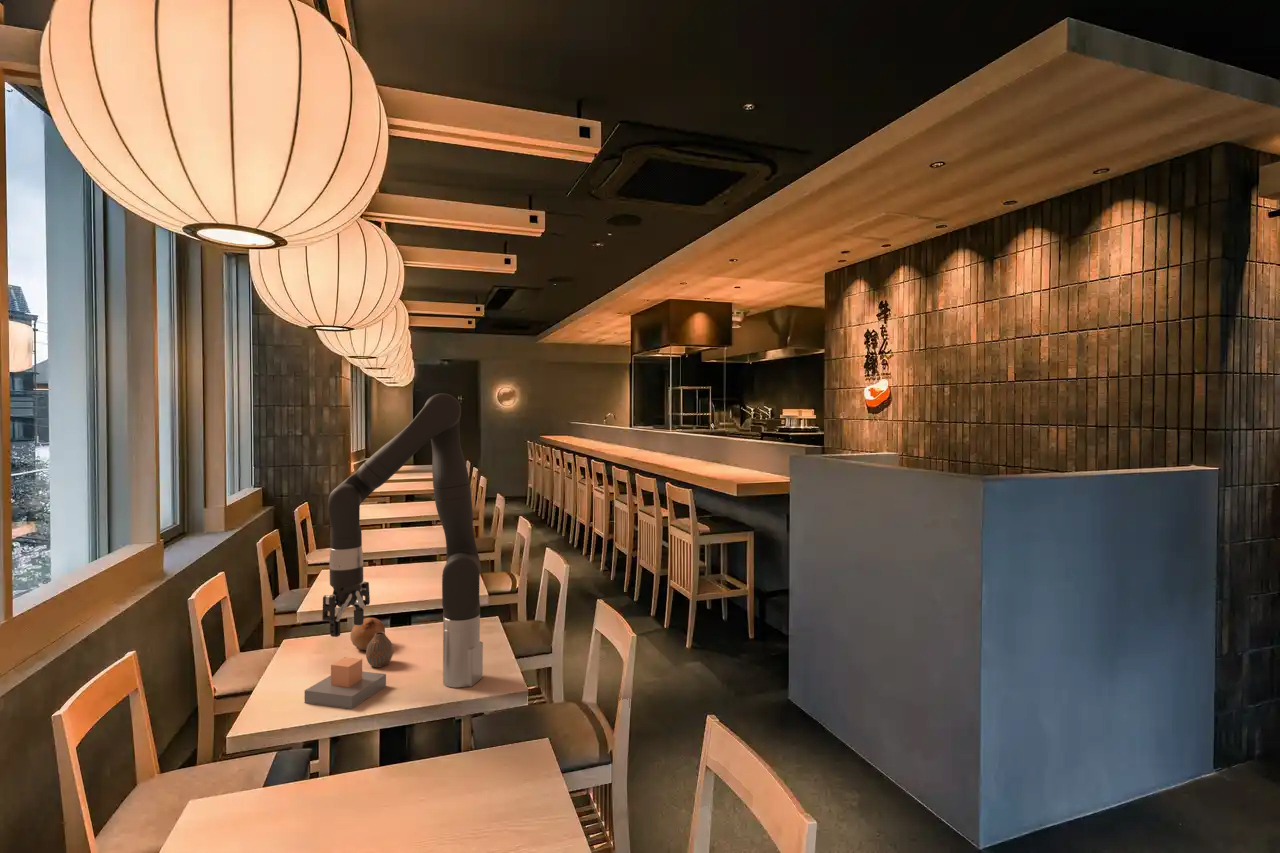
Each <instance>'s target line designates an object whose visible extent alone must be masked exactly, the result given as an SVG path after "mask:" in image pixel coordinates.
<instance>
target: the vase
mask: <svg viewBox="0 0 1280 853" xmlns="http://www.w3.org/2000/svg"><path fill="white" fill-rule="evenodd" d="M393 654H394V647H393V643H392V640H390V639H389V637H388V636H387V635H386V632H385V633H384V632H377V633H375V635H374V637H373V639H372V640H371V641H370V643H369V644H368V646H367V650H365V657H366V661H367V663H368V665H370V666H371V667H373V668H382V667H385V666H387V665H388V664H389V663H390V662H391V661H392V658H393Z"/></svg>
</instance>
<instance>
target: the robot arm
mask: <svg viewBox="0 0 1280 853" xmlns="http://www.w3.org/2000/svg"><path fill="white" fill-rule="evenodd" d="M461 415H462V408H461V404H460V402H459V401H458V399H457V398H456V397H454V396H453V395H451V394H448V393H444V392H443V393H436V394H434V395H432V396H430V397H429V398H428V399H427V400H426V402H425V404H424V406H423V407H422V408H421V410H420V411H419V412H418V413H417V415H416V416H415V417H414V418H413V419H412V420H411V421H410V422H409V424H407V425H406V426H405V427H404V429H402V430H401V431H400V432H398V434H396V435H395V436H393V438H392V439H390V440H389V441H388V442H386V443H385V444H384V445H382V446H381V447H380V448H379V449H378V450H377V451H375V452H374V453H373V454H372V455H371V456H370V457H368V458H367V459H366V460H365V461H364V462H363V463H362V464H361V465H360V466H359V468H358V469H357V470H356V471H355V472H354V473H352V474H351V475H349V476H348V477H347V478H346V479H345V480H343V482H341V483H340V484H339V485H337V486H336V487H334V489H333V490H332V491H331V492H330V494H328V495H329V496H328V500H327V501H328V503H327V506H328V507H327V508H328V517H329V518H328V519H329V524H330V536H329V537H330V538H329V539H330V546H329V547H330V551H329V557H328V558H329V585H330V587H332V589H333V591H332V594H329V595H328V594H326V595H323V597H322V616H321V617H322V621H323V622H329V635H330V636H331V637H333V638H334V637H335V638H338V637H340V636H341V618H342V615H343V614H344V613H345V612H346V609H347V608H349V607H350V606H352V607H353V609H354V610H353V624H354V625H362V624H363V620H364V618H365V617H364V616H365V613H364V610H365V609H366V607H367V606H369V605H370V603H371V599H370V597H371V596H370V583H369V581H364V554H363V553H364V552H363V542H362V541H363V539H362V537H363V536H362V534H363V533H362V527H361V524H360V519H361V518H360V516H361V515H360V514H361V513H360V511H361V508H360V506H361V504H362V503H364V501H365V500H366V499H367V498H368V497H369V496H370V495H371V494H372V493H374V491H375V490H376V489H378V488H380V487H381V486H383V485H384V484H385V483H386V482H387V481H388V480H390V479H391V478H392V477H393V476H394V475H395V474H396V473H397V472H398V471H399V470H400V469H401V468H402V467H403V466H405V465H406V463H407V462H408V461H409V460H410V459H411V458H412V457H413V456H414V455H415V454H416V453H418V451H419V450H420V449H421V448H422V447H423V446H425V445H426V444H427V443H428V442H430V441H431V442H430V444H431V450H432V451H431V452H432V461H431V462H432V468H431V470H432V472H431V473H432V488H433V497H434V503H435V508H436V511H437V515H438V518H439V521H440V524H441V526H442V530H443V532H444V537H445V546H446V563H445V565H444V567H443V570H442V575H441V577H442V578H441V583H442V584H441V594H442V595H441V596H442V597H441V598H442V600H441V601H442V602H441V603H442V609H443V612H442V613H443V617H442V618H443V619H442V620H443V624H442V625H443V627H442V630H443V631H442V683H443V685H444V686H446V687H449V688H464V687H465V688H466V687H473V686H474V685H475V684H477V683H478V682H479V681H480V680H481V679H483V674H484V672H483V670H484V668H483V667H484V666H483V665H484V664H483V662H484V659H483V657H484V656H483V655H484V654H483V652H484V650H483V649H484V642H483V641H480V640H481V635H480V633H481V628H480V627H481V603H480V602H481V601H480V579H481V578H480V575H481V572H482V563H481V561H480V560H481V559H480V556H479V553H478V548H477V544H476V539H475V535H474V525H473V524H474V521H473V519H474V516H473V515H474V514H473V510H474V509H473V501H472V499H473V498H472V489H471V482H470V476H469V470H468V466H467V464H466V459H465V456H464V453H463V449H462V445H461V433H460V431H461V430H460V419H461ZM328 612H329V613H328ZM328 614H329V615H328Z"/></svg>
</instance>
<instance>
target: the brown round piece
mask: <svg viewBox="0 0 1280 853" xmlns="http://www.w3.org/2000/svg"><path fill="white" fill-rule="evenodd" d="M377 632H384V633H385V634H386V629H385V624H384V623H383V622H382V620H380V619H378V618H377V617H364V620H363V624H362V625H355V624H354V625H353V627H352V629H351V631H350V640H351V644H352V645H353V646H354V647H355V649H357V650H360V651H366V650H367V646H368V644H369V643H370V641H371V640H372V639H373V637H374V635H375V633H377Z"/></svg>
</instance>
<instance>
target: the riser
mask: <svg viewBox="0 0 1280 853" xmlns="http://www.w3.org/2000/svg"><path fill="white" fill-rule="evenodd" d="M386 686H387V674H386V673H381V672H380V673H379V672H371V671H363V670H362V679H361V680H360V681H358V682H356V683H355V684H353V685H352V686H350V687H342V686H334V685H331V675H329V676H327V677H326V678H324V679H322V680H319V681H318V682H317V683H315V684H313V685H311V686H310V687H308V688H306V689H304V703H305V704H310V705H311V704H312V705H319V706H327V707H334V708H342V709H349V710H353V709H354V708H355V707H357V706H359V705H360V704H362V703H363V702H364V701H366V700H368V699H369V698H370V697H371V696H373V695H375V694H376V693H378V692H379V691H380V690H382V689H384V688H385V687H386Z"/></svg>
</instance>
